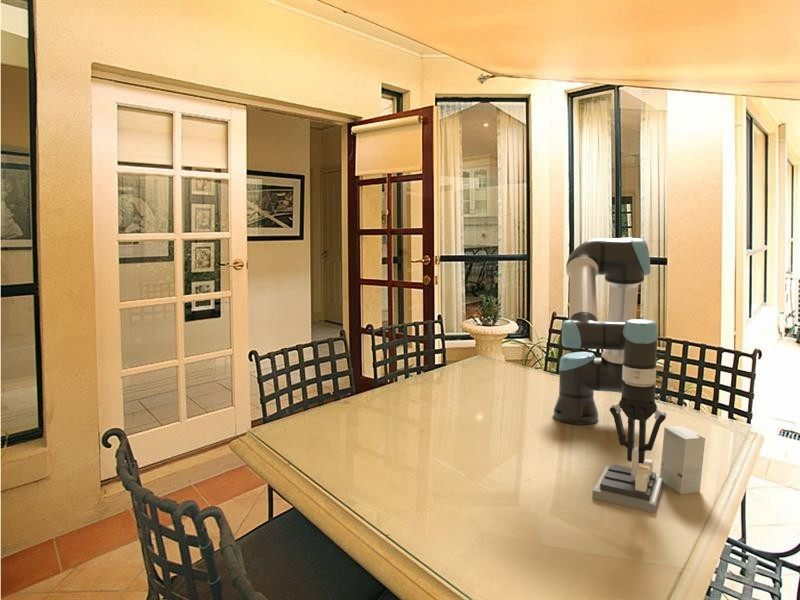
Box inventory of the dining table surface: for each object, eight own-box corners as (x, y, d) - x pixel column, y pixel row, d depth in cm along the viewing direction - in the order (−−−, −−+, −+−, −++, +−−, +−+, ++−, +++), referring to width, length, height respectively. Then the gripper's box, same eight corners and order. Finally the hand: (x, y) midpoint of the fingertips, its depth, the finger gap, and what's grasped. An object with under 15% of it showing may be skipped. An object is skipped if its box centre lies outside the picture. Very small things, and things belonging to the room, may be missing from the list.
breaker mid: (637, 481, 129) (638, 466, 129) (638, 478, 131) (639, 463, 130) (648, 483, 128) (648, 469, 127) (649, 480, 130) (649, 466, 129)
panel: (592, 498, 129) (592, 484, 128) (605, 472, 142) (606, 460, 142) (654, 513, 121) (655, 498, 121) (662, 485, 135) (663, 472, 134)
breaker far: (641, 473, 133) (641, 460, 133) (642, 470, 135) (642, 457, 135) (651, 475, 132) (651, 462, 132) (652, 472, 134) (652, 459, 133)
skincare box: (659, 480, 137) (661, 426, 136) (679, 478, 138) (681, 424, 137) (681, 495, 129) (684, 438, 127) (703, 493, 130) (706, 436, 128)
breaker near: (634, 490, 125) (635, 476, 125) (636, 486, 127) (636, 472, 126) (645, 492, 124) (646, 478, 123) (647, 488, 125) (647, 475, 125)
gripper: (607, 382, 128) (604, 474, 131) (666, 390, 121) (662, 486, 124) (613, 375, 134) (610, 463, 137) (669, 382, 127) (665, 474, 130)
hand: (635, 474), depth 130 cm, fingers closed
